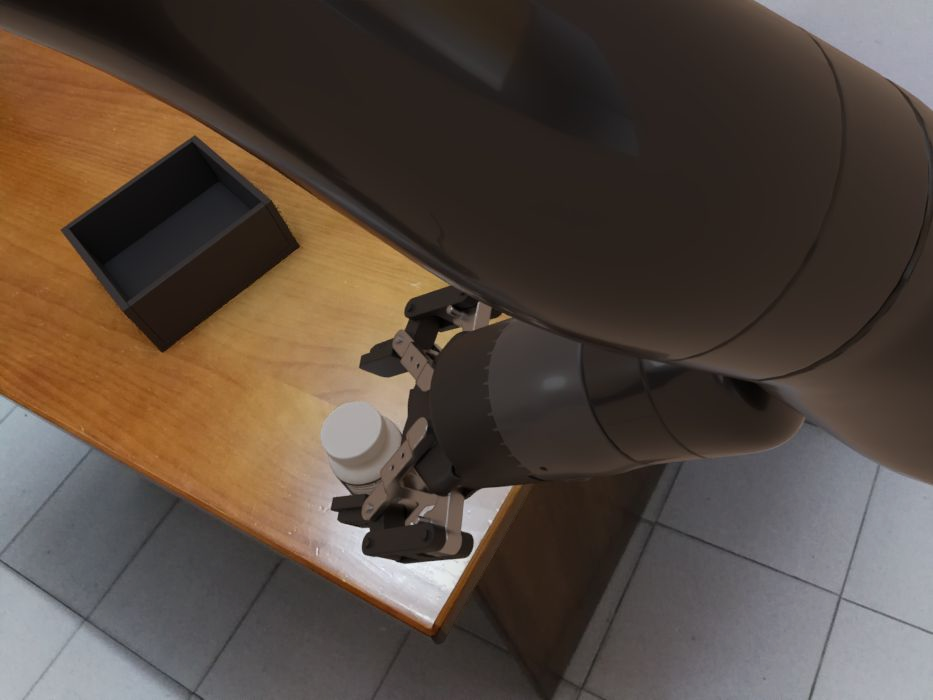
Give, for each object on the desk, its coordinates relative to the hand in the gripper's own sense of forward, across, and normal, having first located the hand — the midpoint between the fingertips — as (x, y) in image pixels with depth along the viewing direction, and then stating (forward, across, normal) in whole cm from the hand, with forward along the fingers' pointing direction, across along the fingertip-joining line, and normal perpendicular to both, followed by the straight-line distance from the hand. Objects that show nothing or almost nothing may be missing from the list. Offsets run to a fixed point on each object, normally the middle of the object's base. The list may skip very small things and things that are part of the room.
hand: (358, 435), depth 46 cm
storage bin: (+42, -25, 0) cm, 49 cm away
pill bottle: (+14, -1, +12) cm, 19 cm away
